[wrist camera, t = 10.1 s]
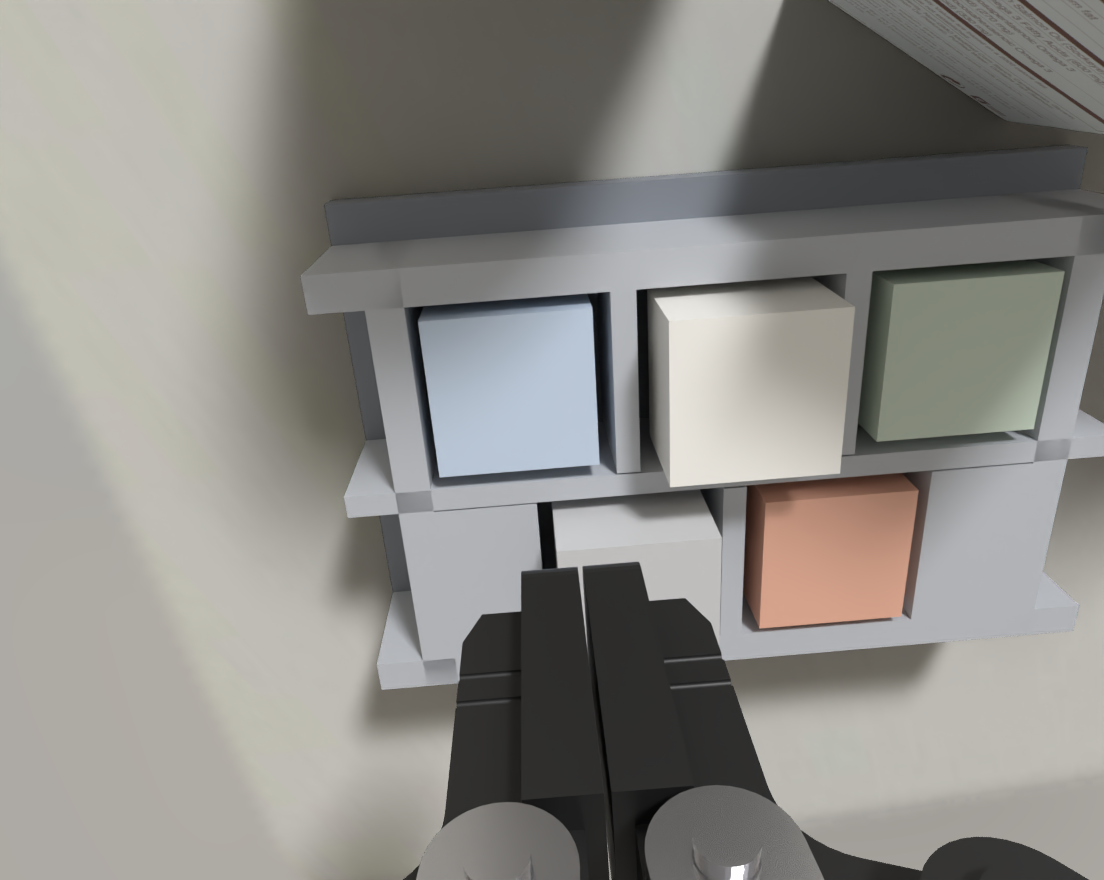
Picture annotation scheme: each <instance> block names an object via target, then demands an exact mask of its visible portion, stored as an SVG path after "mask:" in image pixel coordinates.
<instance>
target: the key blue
mask: <svg viewBox="0 0 1104 880" xmlns="http://www.w3.org/2000/svg"><path fill="white" fill-rule="evenodd" d="M418 326H419V333H420V340H421V347H422V355H423V362H424V369H425V376H426V383H427V391H428V398H429V405H430V412H431V419H432V427H433V434H434V441H435V448H436V455H437V462H438V470H439V477H452V476H464V475H477V474H489V473H501V472H514V471H526V470H538V469H551V468H563V467H575V466H588V465H600V463H599V441H598V419H597V398H596V376H595V355H594V333H593V312H592V306H591V303H590V300H589V298H588V295H587V294H574V295H561V296H548V297H535V298H522V299H509V300H496V301H483V302H471V303H458V304H445V305H432V306H424V307H423V309H422V312H421V315H420V318H419V320H418Z"/></svg>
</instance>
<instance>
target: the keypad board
mask: <svg viewBox="0 0 1104 880" xmlns="http://www.w3.org/2000/svg"><path fill="white" fill-rule="evenodd" d="M1087 149H1088V147H1080V146H1072V145H1063V146H1049V147H1036V148H1023V149H1009V150H996V151H983V152H969V153H956V154H943V155H929V156H916V157H903V158H889V159H876V160H863V161H849V162H836V163H823V164H809V165H796V166H783V167H769V168H756V169H743V170H730V171H716V172H703V173H690V174H676V175H663V176H650V177H636V178H623V179H610V180H596V181H583V182H570V183H556V184H543V185H530V186H516V187H503V188H490V189H476V190H463V191H450V192H436V193H423V194H410V195H397V196H383V197H370V198H357V199H343V200H330V201H329V202H328V203H326V204H325V205H324V207H325V212H326V218H327V224H328V229H329V235H330V241H331V247H330V248H329V249H328V250H327V251H326V252H325V253H324V254H323V255H321V256H320V257H319V258H318V259H317V260H316V261H315V262H314V263H313V264H312V265H311V266H310V267H309V268H308V269H307V270H306V271H305V272H304V273H303V274H302V275H301V276H300V277H301V282H302V288H303V293H304V298H305V303H306V308H307V313H308V315H315V314H328V313H341V312H343V314H344V319H345V325H346V331H347V336H348V342H349V347H350V353H351V359H352V364H353V370H354V376H355V381H356V387H357V392H358V398H359V404H360V409H361V415H362V421H363V426H364V432H365V437H366V442H365V444H364V447H363V449H362V452H361V455H360V457H359V460H358V462H357V465H356V467H355V470H354V473H353V475H352V478H351V480H350V483H349V485H348V488H347V490H346V493H345V496H344V501H345V506H346V511H347V516H348V518H354V517H366V516H378V515H379V516H380V522H381V527H382V533H383V539H384V544H385V550H386V556H387V561H388V567H389V572H390V578H391V584H392V589H393V594H392V599H391V603H390V608H389V612H388V617H387V621H386V626H385V630H384V635H383V639H382V644H381V648H380V652H379V657H378V661H377V669H378V674H379V679H380V684H381V689H382V690H387V689H398V688H410V687H422V686H434V685H445V684H457V683H458V682H459V681H460V677H459V672H460V662H461V653H462V643H463V641H464V640H465V638H466V637H467V635H468V634H469V633H470V631H471V630H472V628H473V627H474V625H475V624H476V622H477V621H478V620H479V618H480V617H481V615H482V614H494V613H506V612H519V611H521V571H529V570H541V569H554V568H556V554H555V541H554V528H553V515H552V501H562V500H574V499H587V498H599V497H611V496H623V495H636V494H648V493H660V492H672V491H685V490H697V489H700V491H701V493H702V496H703V498H704V500H705V502H706V504H707V507H708V509H709V511H710V513H711V515H712V517H713V520H714V522H715V524H716V526H717V528H718V531H719V533H720V535H721V537H722V556H721V597H720V637H719V647H720V650H721V653H722V659H724V661H727V660H739V659H750V658H762V657H774V656H786V655H797V654H809V653H821V652H832V651H844V650H856V649H868V648H879V647H891V646H903V645H915V644H926V643H938V642H950V641H962V640H973V639H985V638H997V637H1008V636H1020V635H1032V634H1044V633H1055V632H1067V631H1073V630H1074V626H1075V622H1076V618H1077V613H1078V609H1079V604H1077V603H1076V602H1075V601H1074V600H1073V599H1072V598H1071V597H1070V596H1069V595H1068V594H1067V593H1066V592H1065V591H1064V590H1062V589H1061V588H1060V587H1059V586H1058V585H1057V584H1056V583H1055V582H1054V581H1053V580H1052V579H1051V578H1050V577H1049V576H1047V575H1046V574H1045V573H1044V572H1043V568H1044V564H1045V559H1046V555H1047V550H1048V546H1049V541H1050V536H1051V532H1052V527H1053V523H1054V518H1055V514H1056V509H1057V505H1058V500H1059V496H1060V491H1061V487H1062V482H1063V478H1064V473H1065V469H1066V464H1067V459H1077V458H1089V457H1101V456H1104V423H1102V422H1100V421H1099V420H1097V419H1095V418H1094V417H1092V416H1090V415H1088V414H1087V413H1085V412H1083V411H1082V410H1080V409H1079V405H1080V401H1081V396H1082V392H1083V387H1084V382H1085V378H1086V373H1087V369H1088V364H1089V360H1090V355H1091V351H1092V346H1093V342H1094V337H1095V333H1096V328H1097V324H1098V319H1099V314H1100V310H1101V305H1102V301H1103V296H1104V194H1102V193H1097V192H1092V191H1087V190H1082V189H1080V184H1081V179H1082V174H1083V169H1084V164H1085V159H1086V154H1087ZM1026 259H1031V260H1034V261H1037V262H1040V263H1043V264H1046V265H1048V266H1051V267H1054V268H1057V269H1060V270H1062V271H1065V273H1064V279H1063V284H1062V289H1061V294H1060V299H1059V304H1058V309H1057V314H1056V319H1055V324H1054V329H1053V334H1052V339H1051V344H1050V349H1049V354H1048V359H1047V364H1046V369H1045V374H1044V380H1043V385H1042V390H1041V395H1040V400H1039V405H1038V410H1037V415H1036V420H1035V425H1034V429H1028V430H1015V431H1003V432H991V433H978V434H966V435H954V436H941V437H929V438H917V439H904V440H892V441H880V442H876V441H875V440H874V439H873V438H872V437H871V436H870V435H869V433H868V432H867V431H866V430H865V429H864V428H863V427H862V426H861V425H860V424H859V423H858V415H859V405H860V394H861V384H862V374H863V364H864V354H865V344H866V334H867V324H868V314H869V303H870V293H871V283H872V273H873V271H884V270H897V269H910V268H923V267H936V266H949V265H962V264H974V263H987V262H1000V261H1013V260H1026ZM806 276H810V277H812V278H813V279H815V280H816V281H818V282H819V283H821V284H822V285H824V286H825V287H827V288H828V289H830V290H831V291H832V292H834V293H835V294H837V295H838V296H840V297H841V298H843V299H844V300H846V301H847V302H849V303H850V304H852V305H853V306H855V314H854V325H853V336H852V347H851V358H850V369H849V380H848V391H847V402H846V413H845V423H844V434H843V445H842V456H841V467H840V474H828V475H815V476H803V477H791V478H779V479H766V480H754V481H742V482H730V483H717V484H705V485H693V486H680V487H670V486H669V483H668V481H667V478H666V476H665V473H664V470H663V468H662V465H661V463H660V460H659V458H658V455H657V452H656V450H655V447H654V445H653V442H652V440H651V437H650V422H649V364H648V307H647V289H651V288H664V287H677V286H690V285H703V284H716V283H729V282H742V281H755V280H768V279H781V278H794V277H806ZM574 294H587V295H588V298H589V300H590V303H591V306H592V312H593V333H594V355H595V376H596V398H597V419H598V441H599V463H600V465H588V466H575V467H563V468H551V469H538V470H526V471H514V472H501V473H489V474H477V475H464V476H452V477H439V470H438V462H437V455H436V448H435V441H434V434H433V427H432V419H431V412H430V405H429V398H428V391H427V383H426V376H425V369H424V362H423V355H422V347H421V340H420V333H419V326H418V320H419V318H420V315H421V312H422V309H423V307H424V306H432V305H445V304H458V303H471V302H483V301H496V300H509V299H522V298H535V297H548V296H561V295H574ZM893 473H902V474H903V475H904V476H905V477H906V478H907V479H908V480H909V481H910V482H911V483H912V484H913V485H914V486H915V487H916V488H917V489H918V490H919V492H918V499H917V507H916V514H915V521H914V528H913V536H912V543H911V550H910V557H909V565H908V572H907V579H906V586H905V593H904V601H903V608H902V615H901V617H890V618H878V619H866V620H854V621H842V622H830V623H819V624H807V625H795V626H783V627H771V628H760V629H759V626H758V624H757V622H756V620H755V618H754V615H753V613H752V611H751V609H750V606H749V604H748V602H747V600H746V598H745V595H744V593H743V575H744V548H745V522H746V496H747V487H746V485H758V484H770V483H783V482H795V481H807V480H819V479H832V478H844V477H856V476H868V475H881V474H893Z"/></svg>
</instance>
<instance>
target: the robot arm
mask: <svg viewBox="0 0 1104 880" xmlns="http://www.w3.org/2000/svg"><path fill="white" fill-rule="evenodd" d="M582 571H583V589H584V604H585V619H586V633H585V625H584V616H583V608H582V599H581V590H580V582H579V573H578V567H566V568H554V569H541V570H529V571H521V611H519V612H506V613H494V614H482V615H481V617H480V618H479V620H478V621H477V622H476V624H475V625H474V627H473V628H472V630H471V631H470V633H469V634H468V635H467V637H466V638H465V640H464V641H463V643H462V653H461V662H460V672H459V677H460V681H459V682H458V692H457V708H456V711H455V721H454V731H453V741H452V751H451V760H450V770H449V780H448V790H447V800H446V810H445V817H444V822H443V826H442V829H441V830H440V831H439V832H438V833H437V834H436V836H435V837H434V838H433V840H432V841H431V842H430V844H429V845H428V847H427V849H426V851H425V853H424V855H423V857H422V859H421V863H420V865H419V866H418V867H417V868H416V869H415V870H414V871H413V872H412V873H411V874H409V875H408V876H407V877H406V878H404V879H403V880H609V867H608V852H609V861H610V870H611V878H612V880H1088V879H1087V878H1085V877H1083V876H1082V875H1080V874H1078V873H1077V872H1075V871H1073V870H1072V869H1070V868H1068V867H1067V866H1065V865H1063V864H1061V863H1060V862H1058V861H1056V860H1055V859H1053V858H1051V857H1049V856H1047V855H1045V854H1043V853H1041V852H1039V851H1037V850H1035V849H1032V848H1030V847H1027V846H1024V845H1022V844H1019V843H1015V842H1011V841H1008V840H1003V839H997V838H991V837H971V838H963V839H959V840H956V841H953V842H949V843H947V844H946V845H944V846H942V847H940V848H938V850H937V851H935V852H934V853H933V854H932V855H931V856H930V857H929V859H928V860H927V862H926V863H925V865H924V867H923V870H922V871H919V870H915V869H910V868H905V867H901V866H896V865H891V864H886V863H882V862H877V861H872V860H868V859H863V858H859V857H855V856H851V855H848V854H844V853H841V852H839V851H837V850H834V849H832V848H829V847H827V846H825V845H824V844H822V843H820V842H818V841H816V840H814V839H813V838H811V837H810V836H808V835H807V834H806V833H804V832H803V831H801V830H800V828H799V827H798V826H797V824H796V823H795V822H794V821H793V819H792V818H791V817H790V816H789V815H788V814H787V813H786V812H785V811H784V810H782V809H781V808H780V807H779V806H778V805H777V804H776V802H775V801H774V799H773V797H772V795H771V793H770V790H769V788H768V786H767V783H766V780H765V777H764V774H763V771H762V768H761V766H760V763H759V760H758V757H757V754H756V751H755V748H754V745H753V743H752V740H751V737H750V734H749V731H748V728H747V725H746V722H745V719H744V717H743V714H742V711H741V708H740V705H739V702H738V699H737V696H736V694H735V691H734V688H733V686H731V680H730V676H729V673H728V670H727V668H726V665H725V662H724V659H722V653H721V650H720V647H719V645H718V642H717V639H716V636H715V633H714V630H713V627H712V624H711V622H710V621H709V620H708V619H707V618H706V617H704V616H703V615H702V614H701V613H700V612H699V611H698V610H697V609H696V608H695V607H694V606H693V605H692V604H691V603H690V602H689V601H688V600H687V599H686V598H679V599H666V600H654V601H649V598H648V594H647V590H646V586H645V582H644V577H643V573H642V569H641V566H640V563H639V562H626V563H614V564H601V565H589V566H582ZM586 635H587V642H586ZM587 650H588V651H587ZM607 843H608V850H607Z"/></svg>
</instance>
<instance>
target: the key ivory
mask: <svg viewBox="0 0 1104 880" xmlns="http://www.w3.org/2000/svg"><path fill="white" fill-rule="evenodd" d="M647 307H648V364H649V422H650V437H651V440H652V442H653V445H654V447H655V450H656V452H657V455H658V458H659V460H660V463H661V465H662V468H663V470H664V473H665V476H666V478H667V481H668V483H669V486H670V487H680V486H693V485H705V484H717V483H730V482H742V481H754V480H766V479H779V478H791V477H803V476H815V475H828V474H840V467H841V456H842V445H843V434H844V423H845V413H846V402H847V391H848V380H849V369H850V358H851V347H852V336H853V325H854V314H855V306H853V305H852V304H850V303H849V302H847V301H846V300H844V299H843V298H841V297H840V296H838V295H837V294H835V293H834V292H832V291H831V290H830V289H828V288H827V287H825V286H824V285H822V284H821V283H819V282H818V281H816V280H815V279H813V278H812V277H810V276H806V277H794V278H781V279H768V280H755V281H742V282H729V283H716V284H703V285H690V286H677V287H664V288H651V289H647Z"/></svg>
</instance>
